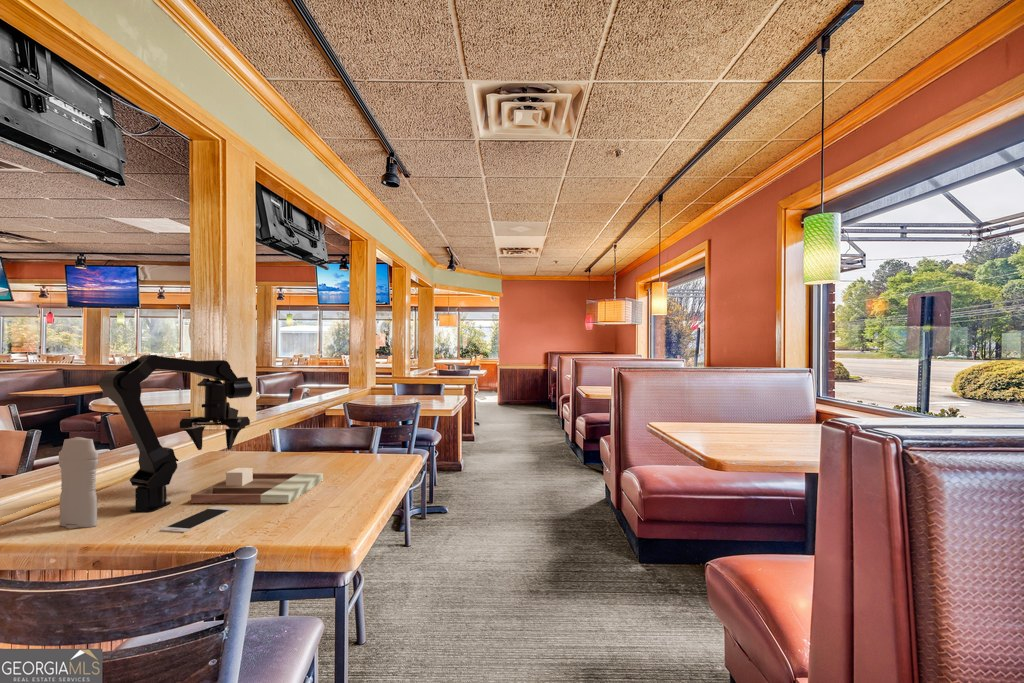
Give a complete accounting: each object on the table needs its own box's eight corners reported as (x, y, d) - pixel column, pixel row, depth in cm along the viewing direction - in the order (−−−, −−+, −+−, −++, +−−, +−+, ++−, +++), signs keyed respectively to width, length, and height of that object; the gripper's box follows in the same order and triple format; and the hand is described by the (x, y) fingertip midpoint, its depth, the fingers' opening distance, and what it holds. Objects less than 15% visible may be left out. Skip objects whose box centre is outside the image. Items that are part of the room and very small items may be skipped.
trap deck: (288, 503, 122) (288, 494, 122) (191, 503, 123) (191, 494, 123) (323, 480, 143) (323, 473, 143) (239, 480, 144) (239, 473, 144)
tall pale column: (50, 528, 107) (50, 438, 107) (68, 521, 111) (68, 435, 111) (88, 529, 106) (88, 439, 106) (105, 522, 110) (105, 435, 110)
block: (242, 485, 131) (242, 472, 131) (226, 485, 131) (226, 472, 131) (252, 480, 136) (252, 467, 136) (236, 480, 136) (236, 467, 136)
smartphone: (236, 510, 119) (236, 507, 119) (185, 535, 104) (185, 531, 104) (213, 509, 120) (213, 505, 120) (159, 533, 105) (159, 529, 105)
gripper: (260, 397, 145) (259, 444, 145) (203, 397, 145) (202, 444, 145) (239, 400, 134) (238, 452, 133) (178, 401, 134) (177, 452, 133)
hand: (214, 449), depth 137 cm, fingers open, 9 cm apart
